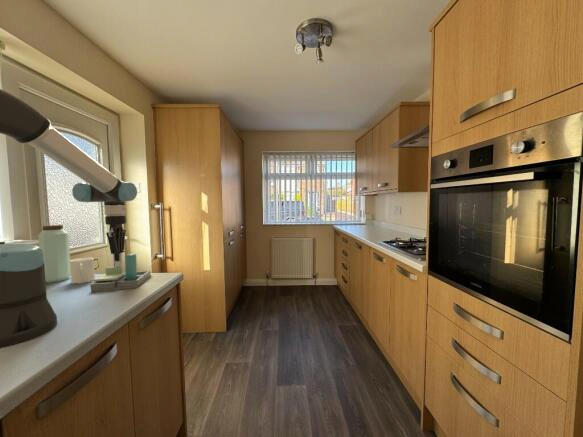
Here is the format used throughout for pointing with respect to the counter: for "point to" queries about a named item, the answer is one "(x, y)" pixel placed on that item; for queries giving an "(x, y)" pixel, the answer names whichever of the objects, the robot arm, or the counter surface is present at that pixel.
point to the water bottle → (55, 252)
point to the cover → (111, 274)
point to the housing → (120, 283)
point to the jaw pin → (130, 267)
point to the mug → (82, 270)
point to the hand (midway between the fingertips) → (118, 267)
